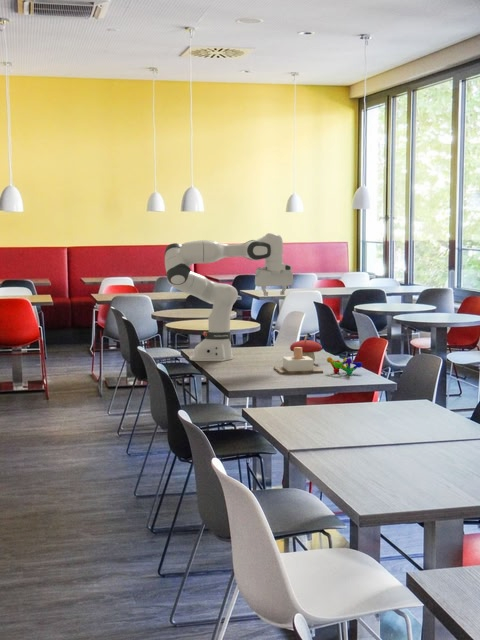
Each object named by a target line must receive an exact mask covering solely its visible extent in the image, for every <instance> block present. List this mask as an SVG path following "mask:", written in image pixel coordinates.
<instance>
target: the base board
mask: <svg viewBox="0 0 480 640" xmlns="http://www.w3.org/2000/svg"><path fill="white" fill-rule="evenodd" d="M273 369H274V371H276V372H277V373H278V374H280V375H303V374H305V375H306V374H324V370H323V369H321V368H319V367H318V366H316V365H314V370H311V371H287V370H286V369H285V368H283V366H273Z"/></svg>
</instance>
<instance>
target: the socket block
mask: <svg viewBox="0 0 480 640" xmlns="http://www.w3.org/2000/svg"><path fill="white" fill-rule="evenodd" d="M314 363H315V361H314V360H313V359H312V358H310V357H308V356H302V359H294V356H282V367H283V368H285V369H286V370H287V371H311V370H314V366H315V364H314Z"/></svg>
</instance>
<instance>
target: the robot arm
mask: <svg viewBox="0 0 480 640" xmlns="http://www.w3.org/2000/svg"><path fill="white" fill-rule="evenodd" d="M283 253H284V242H283V238H282V236H281V235H279V234H276V233H266V234H265V235H264V236H262V237H260V238H258V239H251V240H248V241H246V242H243V243H235V244H233V243H232V244H229V243H228V244H225V243H221V242H219V241H214V240H206V239H205V240H204V239H203V240H193V241H188V242H184V243H181V244H180V243H177V242H176V243H170V244H168V245H167V246H166V247H165V250H164V268H165V272H166V273H165V274H166V281H167V283H168V284H169V285H170V286H171V287H173V288H174V289H176V290H179V291H181V292H183V293H185V294H188V295H190V296H193V297H195V298H198V299H199V300H201V301H203V302H205V303H208V304H210V305H212V310H211V313H210V314H209V315H208V317H207V318H208V321H207V322H208V331H203V333H202V335H203V336H204V339H203V340H202V341H201V342H199V343H198V344H197V345H195V347H194V350H193V355H190V356H189V360H190V361H193V362H225V361H229V360H233V359H234V356H233V352H232V344H231V342H232V332H231V314H232V309H233V305H234V304H235V303H236V301H237V299H238V296H239V294H238V293H239V292H238V290H237V288H236V287H234V286H233V285H231V284H229V283H219V282H216V281H212V280H211V279H208V278H207V277H206V276H204V275H202V274H199V273H196V272H194V271H192V269H191V268H190V267H191V265H193V264H211V263H212V264H213V263H217V262H219V261H220V260H222V259H225V258H240V257H241V258H245V259H248V260H250V261H260V260H264V267H262V266H261V267H257V268H256V269H255V276H254V277H255V278H254V285H255V287H261V291H262V292H263V296H264V297H267V296H269V291H267V290H266V289H267V287H281V288H282V289H281V290H280V291H279V293H280V294H279V295H280V296H285V292H286V290H287V288H288V287H287V286H292V285H293V284H294V273H293V271H292V270H293V266H292V265H290V264H287V263H284V259H283Z"/></svg>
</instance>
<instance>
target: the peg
mask: <svg viewBox="0 0 480 640" xmlns="http://www.w3.org/2000/svg"><path fill="white" fill-rule="evenodd" d="M293 357H294V359H302V347H294V351H293Z"/></svg>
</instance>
